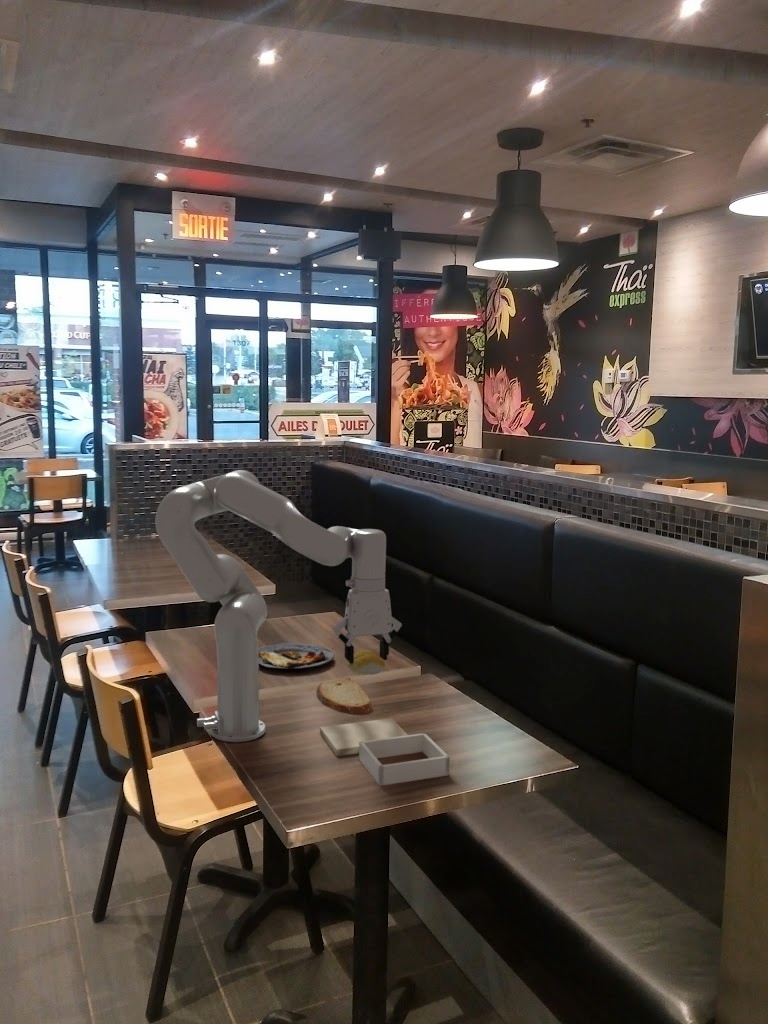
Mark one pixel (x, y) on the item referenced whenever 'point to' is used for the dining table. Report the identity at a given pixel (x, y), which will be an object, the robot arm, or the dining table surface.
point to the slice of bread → (344, 696)
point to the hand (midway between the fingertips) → (366, 659)
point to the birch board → (358, 734)
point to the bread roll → (366, 663)
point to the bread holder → (404, 770)
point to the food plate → (293, 656)
